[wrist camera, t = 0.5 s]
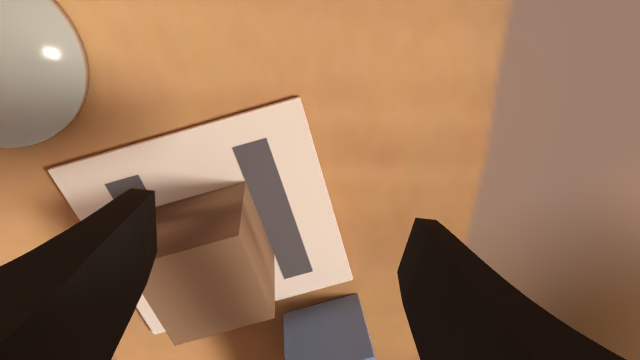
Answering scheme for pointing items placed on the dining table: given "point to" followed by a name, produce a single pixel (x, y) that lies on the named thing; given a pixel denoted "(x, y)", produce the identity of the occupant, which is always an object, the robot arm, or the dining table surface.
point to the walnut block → (211, 265)
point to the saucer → (39, 71)
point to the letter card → (225, 170)
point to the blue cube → (328, 332)
